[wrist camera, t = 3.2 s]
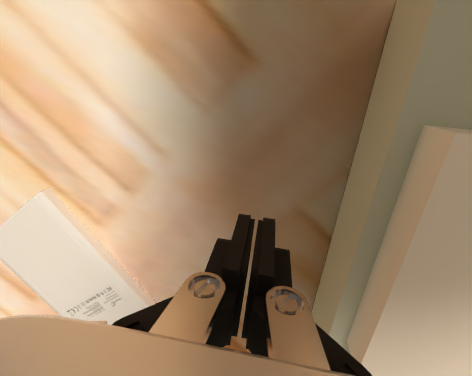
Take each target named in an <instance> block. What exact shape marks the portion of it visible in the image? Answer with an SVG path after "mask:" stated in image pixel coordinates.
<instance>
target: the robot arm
mask: <svg viewBox="0 0 472 376" xmlns="http://www.w3.org/2000/svg"><path fill="white" fill-rule="evenodd" d="M254 222H255V219H251V216H250V215H244V214H239V216H238V220H237V223H236V226H235V230H234V233H233V236H232V240H226V239H220V238H218V239H217V241H216V244H215V246H214V249H213V251H212V254H211V256H210V259H209V262H208V264H207V267H206V269H205V272H199V273H196V274H193V275H191V276H190V277H188V278H187V279H186V281H185V282H184V283H183V285H182V286H181V288H180V289H179V290H178V292H177V293H176V295H175V296H173V297H171V298H168V299H166V300H164V301H161V302H159V303H156V304H154V305H152V306H149V307H147V308H144V309H142V310H140V311H137V312H135V313H132V314H130V315H128V316H125V317H123V318H121V319H119V320H117V321H115V322H114V323H113V324H112V325H108V324H107V321H86V320H80V319H74V318H67V317H61V316H48V315H21V316H13V317H5V318H0V376H372V374H371V373H370V372H369V371H368V370H367V369H366V368H365V367H364V366H363V365H362V364H361V363H359V362H358V361H357V360H356V359H355V358H354V357H353V356H352V355H351V354H349V353H348V352H347V351H346V350H345V349H344V348H343V347H342V346H340V345H339V344H338V343H337V342H336V341H335V340H334V339H333V338H332V337H330V336H329V335H328V334H327V333H326V332H325V331H324V330H323V329H321V328H320V327H319V326H318V325H317V324H316V323H315V321H314V318H313V315H312V312H311V309H310V306H309V303H308V301H307V299H306V298H305V297H304V295H303V294H302V293H300V292H299V291H297V290H296V289H293V288H292V278H291V264H290V252H289V250H286V249H280V248H275V219H269V218H263V221H262V220H259V221H258V227H257V234H256V241H255V248H254V255H253V261H252V268H251V275H250V282H249V289H248V296H247V303H246V310H245V317H244V324H243V331H242V338H246V339H247V343H246V349H249V350H250V352H251V353H252V354H251V353H246V352H241V351H237V350H232V349H227V348H222V347H224V346H225V345H230V341H231V336H236V337H237V333H238V327H239V321H240V315H241V309H242V303H243V296H244V290H245V284H246V278H247V271H248V265H249V258H250V250H251V243H252V236H253V229H254Z"/></svg>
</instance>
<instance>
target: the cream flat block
mask: <svg viewBox="0 0 472 376" xmlns="http://www.w3.org/2000/svg"><path fill="white" fill-rule="evenodd" d="M347 343H348V347H349V350H350V354H351V355H352V356H353V357H354V358H355V359H356V360H357V361H358V362H359V363H361V364H362V365H363V366H364V367H365V368H366V369H367V370H368V371H369V372H370V373H371V374H372V376H472V130H468V129H459V128H450V127H441V126H433V125H424V126H423V128H422V131H421V134H420V137H419V140H418V142H417V145H416V148H415V151H414V153H413V156H412V159H411V162H410V165H409V167H408V170H407V173H406V176H405V179H404V181H403V184H402V187H401V190H400V192H399V195H398V198H397V201H396V204H395V206H394V209H393V212H392V215H391V218H390V220H389V223H388V226H387V229H386V232H385V234H384V237H383V240H382V243H381V245H380V248H379V251H378V254H377V257H376V259H375V262H374V265H373V268H372V271H371V273H370V276H369V279H368V282H367V284H366V287H365V290H364V293H363V296H362V298H361V301H360V304H359V307H358V310H357V312H356V315H355V318H354V321H353V323H352V326H351V329H350V332H349V335H348V337H347Z"/></svg>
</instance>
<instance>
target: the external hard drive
mask: <svg viewBox="0 0 472 376" xmlns="http://www.w3.org/2000/svg"><path fill="white" fill-rule="evenodd" d="M0 259H1V260H2V261H3V262H4V263H5V264H6V265H7V266H8V267H9V268H10V269H11V270H12V271H13V272H14V273H15V274H16V275H17V276H18V277H19V278H21V279H22V280H23V281H24V282H25V283H26V284H27V285H28V286H29V287H30V288H31V289H32V290H33V291H34V292H35V293H36V294H37V295H39V296H40V297H41V298H42V299H43V300H44V301H45V302H46V303H47V304H48V305H49V306H50V307H51V308H52V309H53V310H54V311H55V312H57V313H58V314H59V315H60V316H61V317H67V318H74V319H80V320H86V321H107V324H108V325H112V324H113V323H114V322H115V321H117V320H119V319H121V318H123V317H125V316H128V315H130V314H132V313H135V312H137V311H140V310H142V309H144V308H147V307H149V306H152V305H154V304H156V303H155V301H154V300H153V299H152V298H151V297H150V296H149V295H148V294H147V293H146V292H145V291H144V289H143V288H142V287H141V286H140V285H139V284H138V283H137V282H136V281H135V280H134V278H133V277H132V276H131V275H130V274H129V273H128V272H127V271H126V270H125V269H124V268H123V266H122V265H121V264H120V263H119V262H118V261H117V260H116V259H115V258H114V257H113V256H112V255H111V253H110V252H109V251H108V250H107V249H106V248H105V247H104V246H103V245H102V244H101V243H100V241H99V240H98V239H97V238H96V237H95V236H94V235H93V234H92V233H91V232H90V231H89V229H88V228H87V227H86V226H85V225H84V224H83V223H82V222H81V221H80V220H79V219H78V217H77V216H76V215H75V214H74V213H73V212H72V211H71V210H70V209H69V208H68V207H67V205H66V204H65V203H64V202H63V201H62V200H61V199H60V198H59V197H58V196H57V195H56V194H55V193H54V191H53V190H52V189H51V188H48V189H46V190H43V191H41V192H39V193H38V194H37V195H35V196H34V197H33V198H32V199H31V200H29V201H28V202H27V203H26V204H25V205H24V206H22V207H21V208H20V209H19V210H18V211H17V212H16V213H14V214H13V215H12V216H11V217H10V218H9V219H8V220H6V221H5V222H4V223H3V224H2V225H1V226H0Z"/></svg>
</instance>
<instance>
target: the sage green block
mask: <svg viewBox="0 0 472 376" xmlns="http://www.w3.org/2000/svg"><path fill="white" fill-rule="evenodd" d="M424 125H433V126H441V127H450V128H459V129H468V130H472V0H398V1H397V2H396V5H395V8H394V12H393V16H392V19H391V23H390V27H389V30H388V34H387V38H386V41H385V45H384V49H383V52H382V56H381V60H380V63H379V67H378V71H377V74H376V78H375V82H374V85H373V89H372V93H371V96H370V100H369V104H368V107H367V111H366V115H365V118H364V122H363V126H362V129H361V133H360V136H359V140H358V144H357V147H356V151H355V155H354V158H353V162H352V166H351V169H350V173H349V177H348V180H347V184H346V188H345V191H344V195H343V199H342V202H341V206H340V210H339V213H338V217H337V221H336V224H335V228H334V232H333V235H332V239H331V243H330V246H329V250H328V254H327V257H326V261H325V265H324V268H323V272H322V276H321V279H320V283H319V287H318V290H317V294H316V298H315V301H314V305H313V309H312V315H313V318H314V321H315V323H316V324H317V325H318V326H319V327H320V328H321V329H323V330H324V331H325V332H326V333H327V334H328V335H329V336H330V337H332V338H333V339H334V340H335V341H336V342H337V343H338V344H339V345H340V346H342V347H343V348H344V349H345V350H346V351H347V352H348V353H349V354H350V350H349V347H348V343H347V337H348V335H349V332H350V329H351V326H352V323H353V321H354V318H355V315H356V312H357V310H358V307H359V304H360V301H361V298H362V296H363V293H364V290H365V287H366V284H367V282H368V279H369V276H370V273H371V271H372V268H373V265H374V262H375V259H376V257H377V254H378V251H379V248H380V245H381V243H382V240H383V237H384V234H385V232H386V229H387V226H388V223H389V220H390V218H391V215H392V212H393V209H394V206H395V204H396V201H397V198H398V195H399V192H400V190H401V187H402V184H403V181H404V179H405V176H406V173H407V170H408V167H409V165H410V162H411V159H412V156H413V153H414V151H415V148H416V145H417V142H418V140H419V137H420V134H421V131H422V128H423V126H424Z"/></svg>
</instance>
